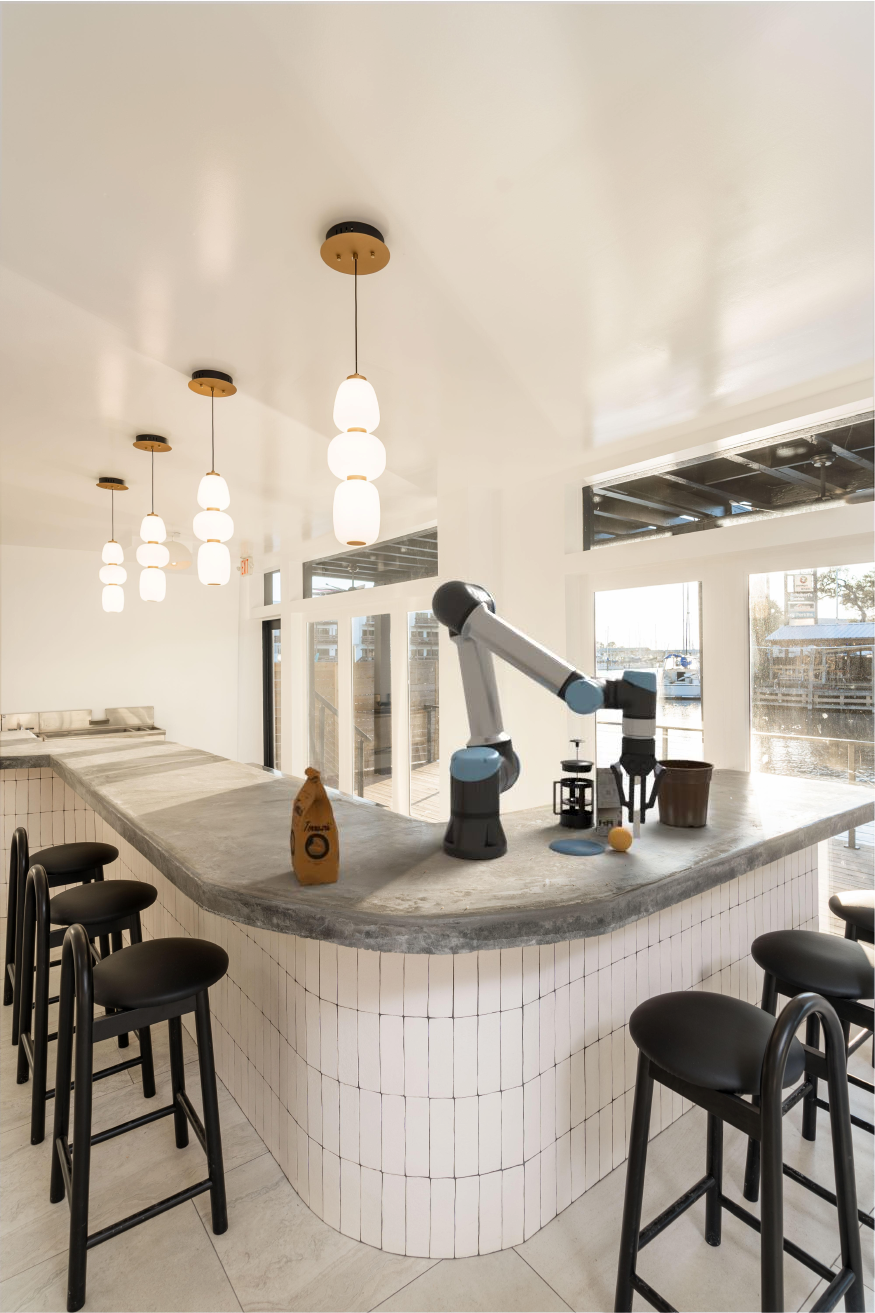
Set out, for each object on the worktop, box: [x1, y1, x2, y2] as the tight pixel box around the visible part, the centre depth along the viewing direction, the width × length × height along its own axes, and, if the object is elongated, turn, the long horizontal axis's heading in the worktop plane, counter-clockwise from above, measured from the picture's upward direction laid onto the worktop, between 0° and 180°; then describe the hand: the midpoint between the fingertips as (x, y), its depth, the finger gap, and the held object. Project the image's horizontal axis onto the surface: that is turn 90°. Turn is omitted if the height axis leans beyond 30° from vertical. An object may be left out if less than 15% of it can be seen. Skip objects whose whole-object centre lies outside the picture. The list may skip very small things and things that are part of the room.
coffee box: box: [595, 767, 624, 837], centre depth 173 cm, size 9×6×16 cm
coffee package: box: [289, 766, 340, 886], centre depth 139 cm, size 10×12×22 cm
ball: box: [607, 826, 633, 852], centre depth 157 cm, size 6×6×6 cm
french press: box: [552, 738, 596, 830], centre depth 180 cm, size 12×9×23 cm
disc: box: [549, 838, 606, 857], centre depth 159 cm, size 13×13×1 cm
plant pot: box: [652, 759, 715, 828], centre depth 183 cm, size 16×16×16 cm
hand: (636, 837), depth 156 cm, fingers closed
